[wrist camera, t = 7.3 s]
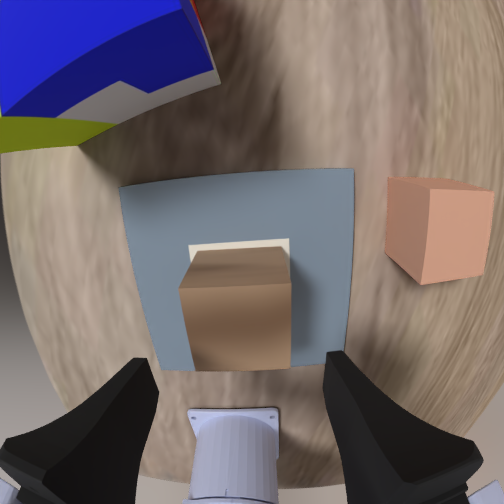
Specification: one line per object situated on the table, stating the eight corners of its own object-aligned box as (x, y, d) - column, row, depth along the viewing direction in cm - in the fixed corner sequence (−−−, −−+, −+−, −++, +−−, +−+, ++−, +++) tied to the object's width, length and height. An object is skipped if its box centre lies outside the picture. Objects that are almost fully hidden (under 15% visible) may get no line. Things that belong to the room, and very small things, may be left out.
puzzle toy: (221, 84, 15) (182, 8, 5) (77, 145, 16) (-41, 160, 6) (182, -32, 11) (139, -123, 2) (56, 31, 12) (-36, -4, 3)
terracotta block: (441, 247, 18) (482, 274, 13) (384, 252, 18) (420, 284, 13) (447, 178, 16) (494, 191, 12) (387, 176, 16) (430, 189, 12)
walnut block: (282, 317, 19) (290, 368, 14) (207, 321, 19) (195, 371, 14) (281, 246, 17) (291, 283, 13) (197, 250, 17) (178, 288, 13)
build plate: (340, 357, 21) (342, 361, 20) (162, 366, 21) (161, 370, 21) (351, 168, 16) (354, 168, 16) (121, 186, 16) (118, 187, 16)
